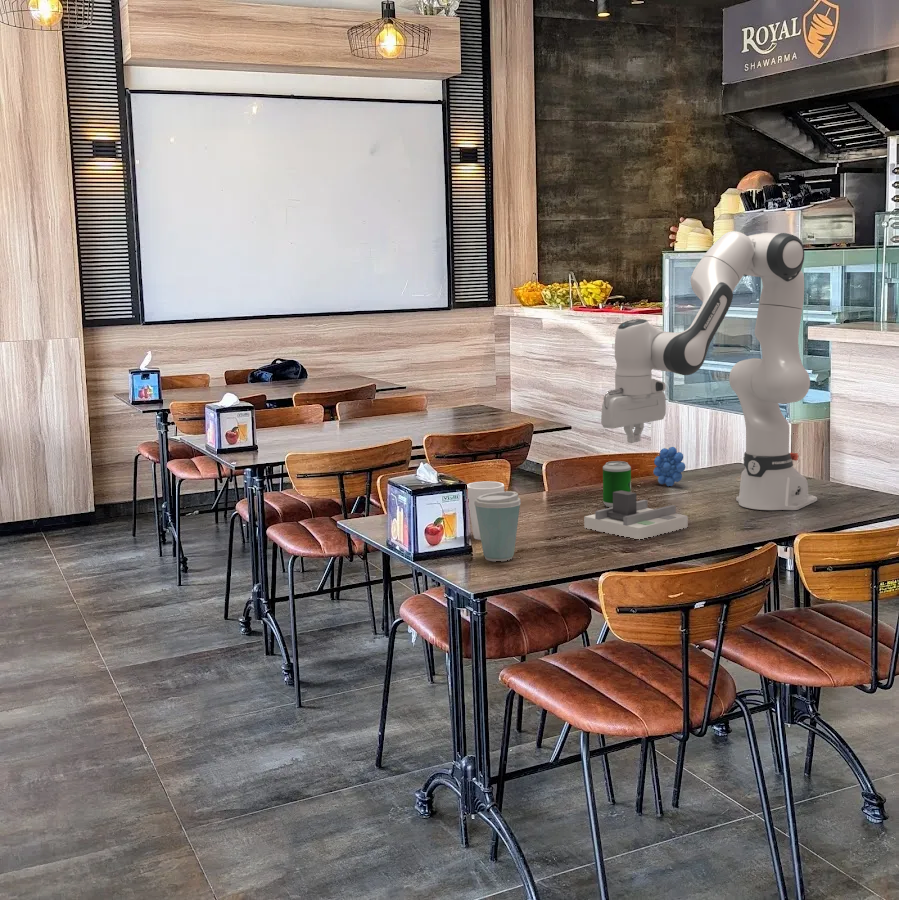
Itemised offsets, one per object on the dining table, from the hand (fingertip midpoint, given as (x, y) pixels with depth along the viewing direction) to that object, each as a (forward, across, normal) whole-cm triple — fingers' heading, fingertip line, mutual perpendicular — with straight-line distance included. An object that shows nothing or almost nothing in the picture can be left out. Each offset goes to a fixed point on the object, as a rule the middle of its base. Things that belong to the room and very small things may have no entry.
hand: (634, 442), depth 274 cm
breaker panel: (+22, -1, -1) cm, 22 cm away
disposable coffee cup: (+21, -44, +2) cm, 49 cm away
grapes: (+22, +45, +26) cm, 57 cm away
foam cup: (+21, -33, +19) cm, 44 cm away
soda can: (+22, +14, +19) cm, 32 cm away
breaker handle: (+18, -5, -1) cm, 19 cm away
